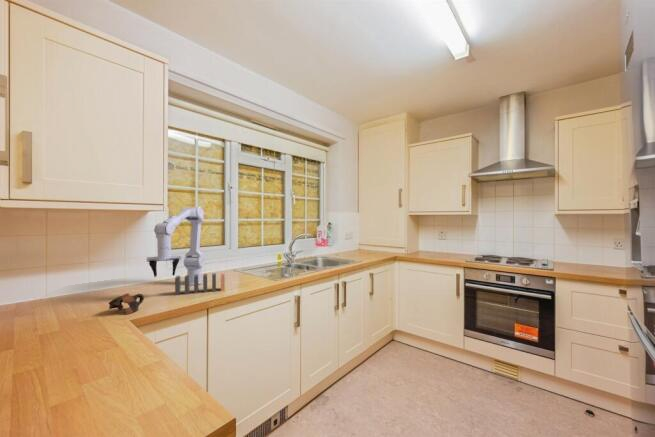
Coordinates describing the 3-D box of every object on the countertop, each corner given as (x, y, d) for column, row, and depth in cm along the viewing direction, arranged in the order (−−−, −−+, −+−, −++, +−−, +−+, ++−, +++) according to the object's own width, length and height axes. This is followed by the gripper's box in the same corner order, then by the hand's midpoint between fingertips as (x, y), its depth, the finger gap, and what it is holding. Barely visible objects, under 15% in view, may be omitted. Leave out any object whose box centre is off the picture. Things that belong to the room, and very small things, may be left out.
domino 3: (195, 291, 145) (194, 274, 145) (198, 290, 145) (198, 274, 145) (194, 293, 140) (194, 276, 140) (197, 293, 141) (197, 276, 140)
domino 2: (185, 291, 143) (185, 275, 143) (189, 291, 144) (189, 275, 144) (184, 294, 138) (184, 277, 138) (188, 294, 139) (188, 277, 139)
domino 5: (212, 289, 148) (212, 273, 148) (215, 289, 148) (215, 273, 148) (212, 291, 143) (212, 275, 143) (215, 291, 144) (215, 275, 144)
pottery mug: (120, 318, 108) (109, 300, 108) (113, 324, 113) (102, 306, 113) (151, 302, 118) (141, 285, 118) (143, 308, 123) (134, 292, 123)
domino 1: (176, 292, 142) (176, 276, 142) (180, 292, 142) (180, 275, 142) (175, 295, 137) (175, 278, 137) (179, 294, 138) (178, 277, 137)
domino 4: (203, 290, 146) (203, 274, 146) (207, 289, 147) (207, 273, 147) (203, 292, 142) (203, 275, 141) (206, 292, 142) (206, 275, 142)
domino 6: (221, 288, 149) (220, 272, 149) (224, 288, 150) (224, 272, 150) (221, 291, 145) (220, 274, 144) (224, 290, 145) (224, 274, 145)
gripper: (144, 249, 129) (145, 278, 129) (180, 247, 134) (180, 276, 134) (148, 247, 135) (148, 275, 135) (181, 246, 141) (182, 273, 141)
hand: (164, 275), depth 135 cm, fingers open, 7 cm apart
